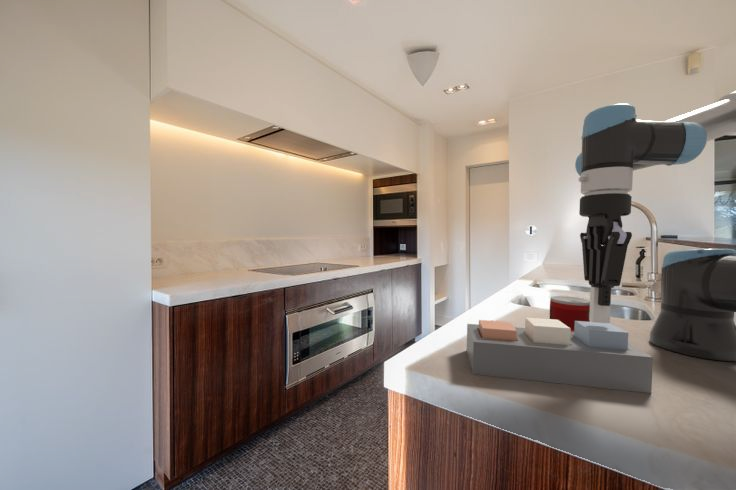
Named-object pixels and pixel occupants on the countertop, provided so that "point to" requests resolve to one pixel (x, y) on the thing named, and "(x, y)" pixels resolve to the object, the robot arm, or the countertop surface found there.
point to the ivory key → (547, 331)
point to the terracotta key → (497, 330)
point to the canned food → (569, 310)
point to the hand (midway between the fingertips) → (599, 321)
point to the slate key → (601, 335)
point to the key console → (559, 362)
